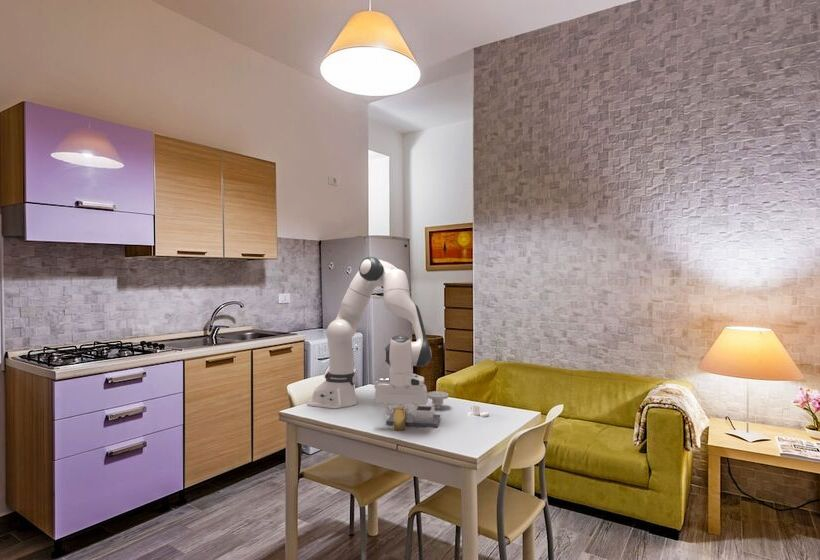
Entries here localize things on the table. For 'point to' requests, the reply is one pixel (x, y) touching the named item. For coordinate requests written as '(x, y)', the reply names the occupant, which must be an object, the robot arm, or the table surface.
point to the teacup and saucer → (477, 412)
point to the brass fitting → (399, 419)
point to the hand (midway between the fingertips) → (401, 415)
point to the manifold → (419, 417)
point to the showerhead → (437, 397)
